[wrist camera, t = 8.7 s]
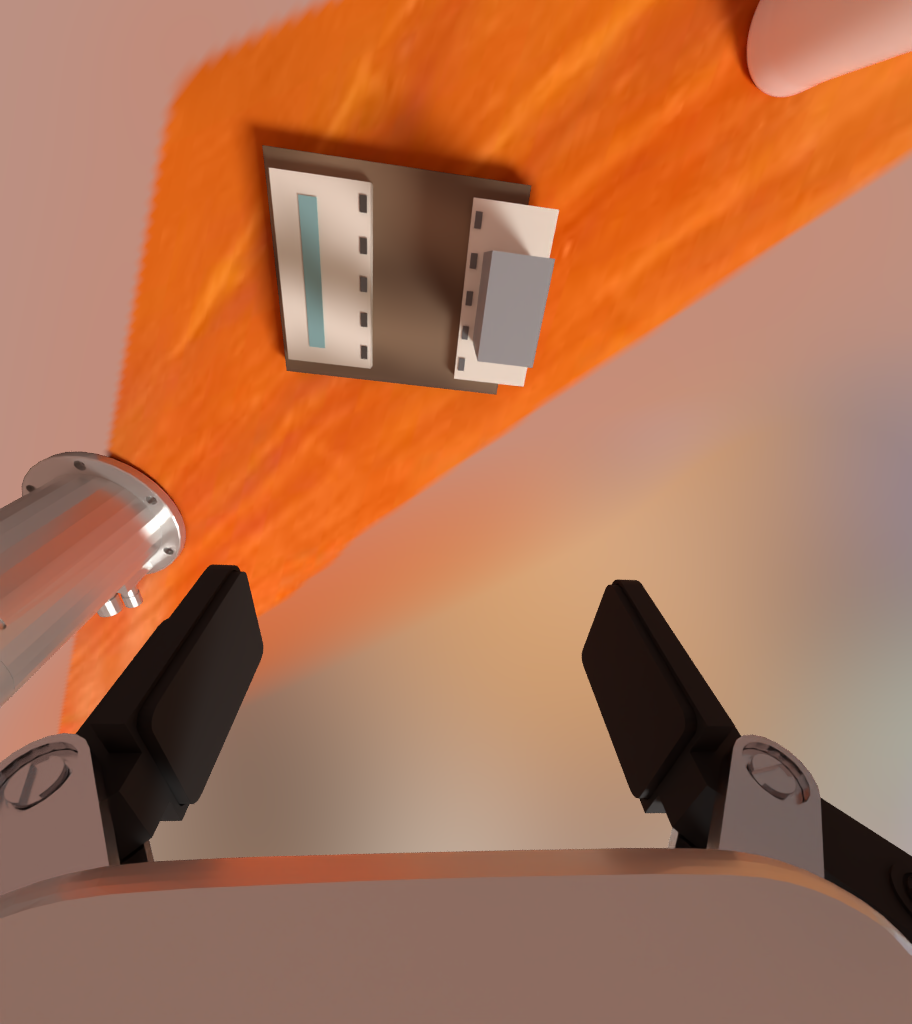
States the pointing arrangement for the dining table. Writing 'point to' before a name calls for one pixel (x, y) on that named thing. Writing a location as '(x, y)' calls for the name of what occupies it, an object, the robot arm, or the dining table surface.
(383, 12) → the dining table surface
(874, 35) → the drinking glass
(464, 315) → the stub
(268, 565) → the dining table surface
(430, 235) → the board
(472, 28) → the dining table surface
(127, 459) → the dining table surface
